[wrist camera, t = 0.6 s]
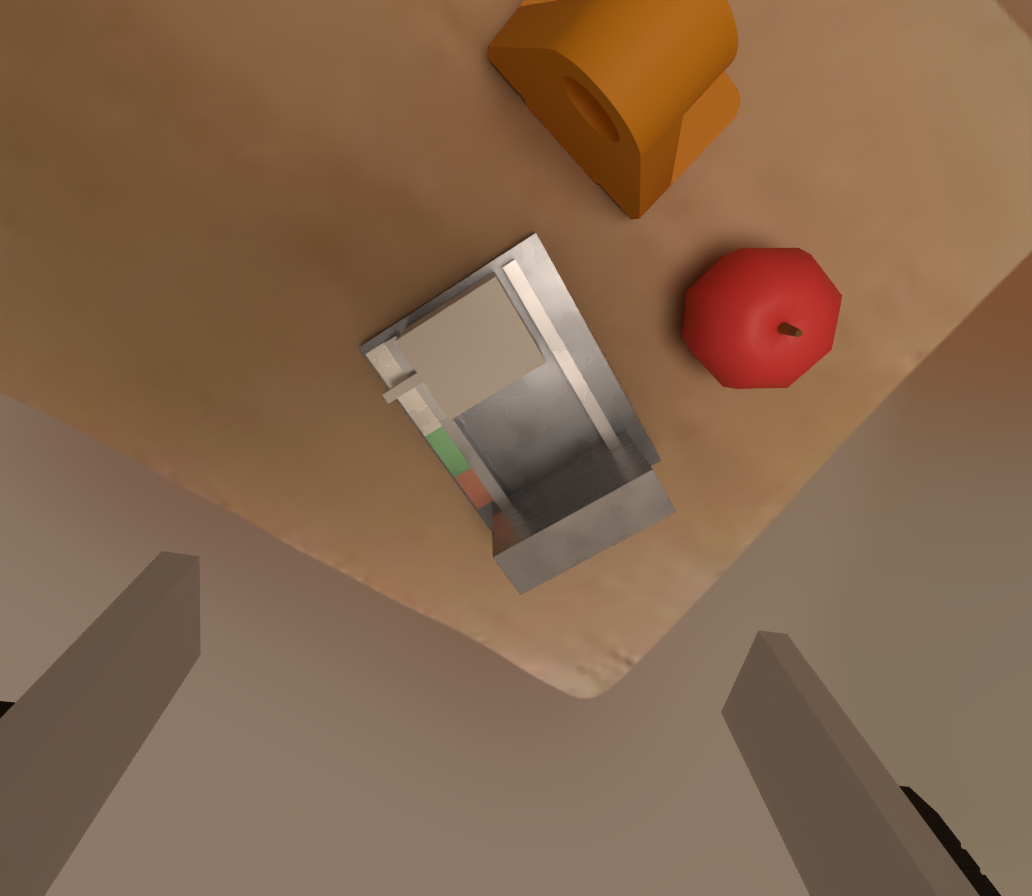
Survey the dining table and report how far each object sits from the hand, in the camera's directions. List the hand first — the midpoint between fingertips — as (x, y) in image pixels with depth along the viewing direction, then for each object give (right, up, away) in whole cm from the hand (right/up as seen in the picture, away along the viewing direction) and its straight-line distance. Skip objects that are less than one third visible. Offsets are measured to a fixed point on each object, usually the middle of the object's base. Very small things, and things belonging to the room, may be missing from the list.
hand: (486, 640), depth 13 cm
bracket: (+6, +24, +16) cm, 29 cm away
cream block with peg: (-3, +10, +19) cm, 22 cm away
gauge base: (+1, +8, +22) cm, 23 cm away
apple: (+14, +13, +21) cm, 28 cm away
